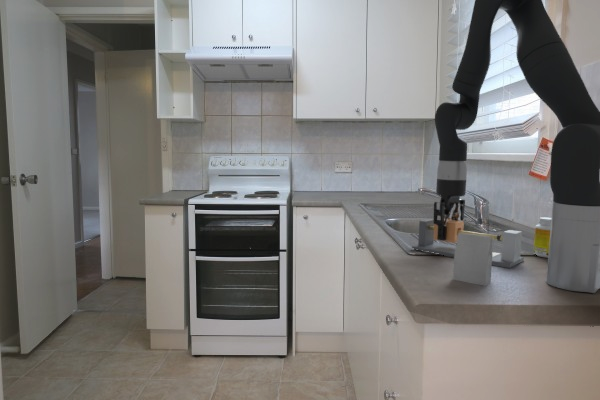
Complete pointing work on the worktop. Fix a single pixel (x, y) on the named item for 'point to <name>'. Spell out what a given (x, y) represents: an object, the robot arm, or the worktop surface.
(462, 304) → the worktop surface
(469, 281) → the grey tapered slab
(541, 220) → the supplement bottle
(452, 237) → the sleeve
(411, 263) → the worktop surface
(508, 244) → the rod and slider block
